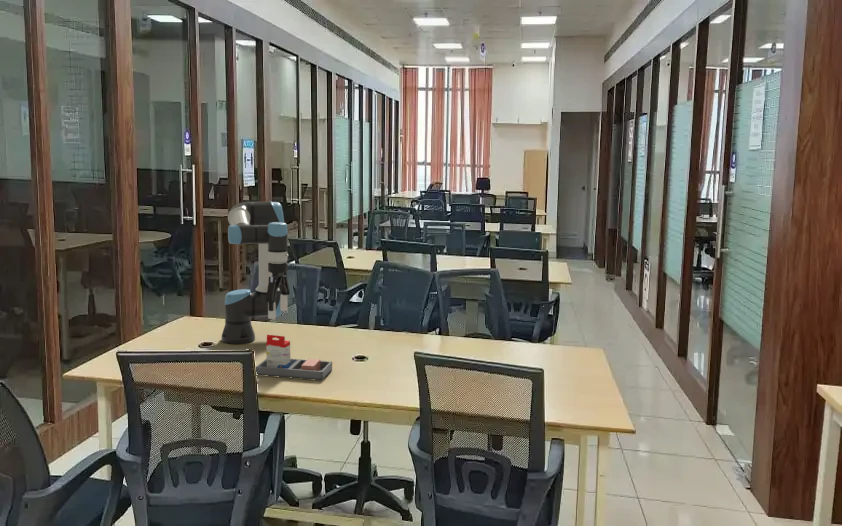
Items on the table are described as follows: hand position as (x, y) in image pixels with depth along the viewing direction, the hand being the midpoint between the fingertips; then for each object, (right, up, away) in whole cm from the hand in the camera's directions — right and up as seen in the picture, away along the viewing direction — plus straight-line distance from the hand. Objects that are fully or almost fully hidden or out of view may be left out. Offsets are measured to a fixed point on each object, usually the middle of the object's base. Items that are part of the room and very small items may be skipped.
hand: (278, 314), depth 272 cm
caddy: (+6, -23, +2) cm, 24 cm away
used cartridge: (+13, -24, +2) cm, 27 cm away
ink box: (0, -23, +3) cm, 23 cm away
